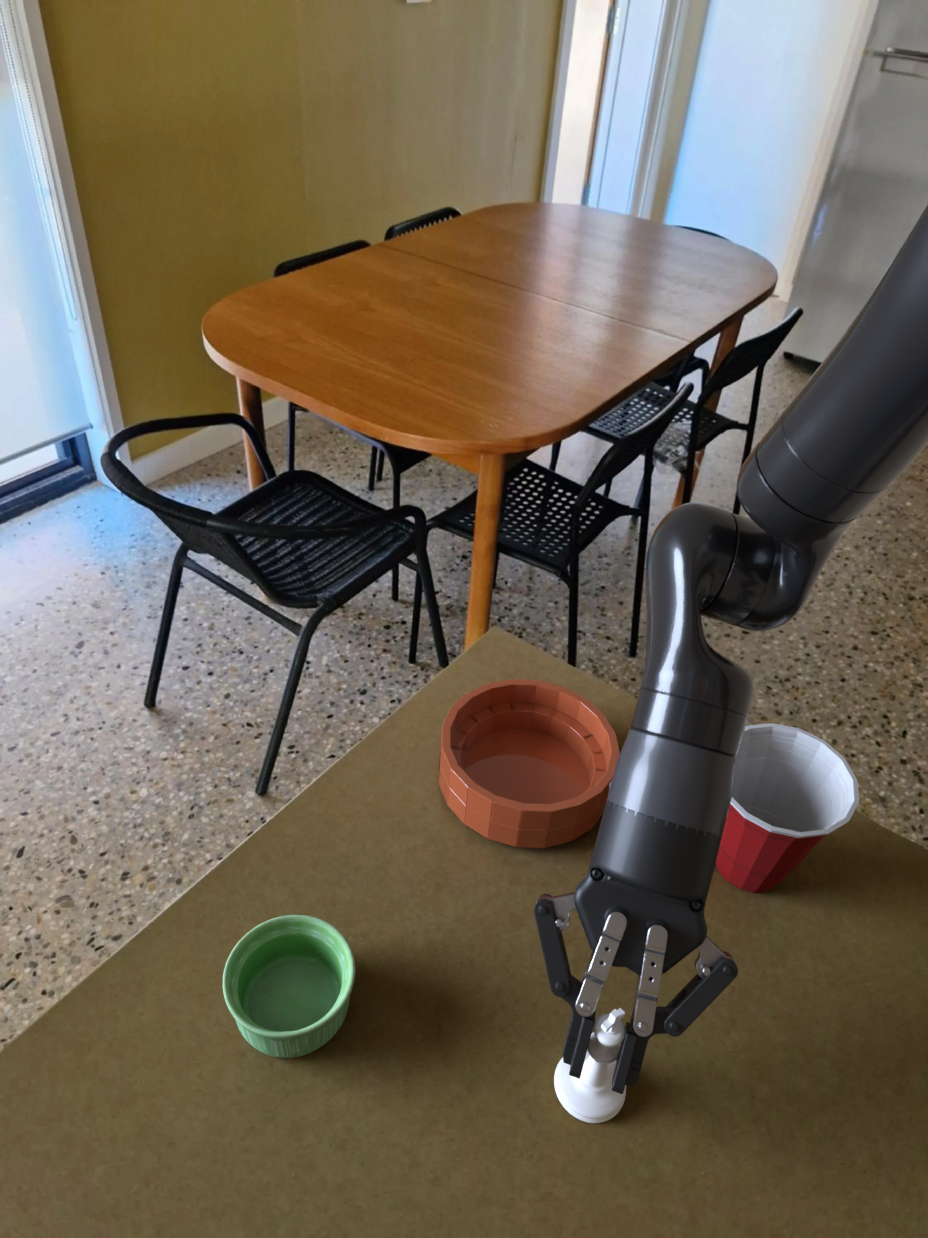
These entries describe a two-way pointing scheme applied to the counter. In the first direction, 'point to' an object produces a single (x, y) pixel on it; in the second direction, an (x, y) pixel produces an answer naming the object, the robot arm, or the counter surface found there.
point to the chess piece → (594, 1074)
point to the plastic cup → (782, 804)
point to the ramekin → (289, 984)
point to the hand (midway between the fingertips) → (596, 1079)
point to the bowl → (527, 762)
